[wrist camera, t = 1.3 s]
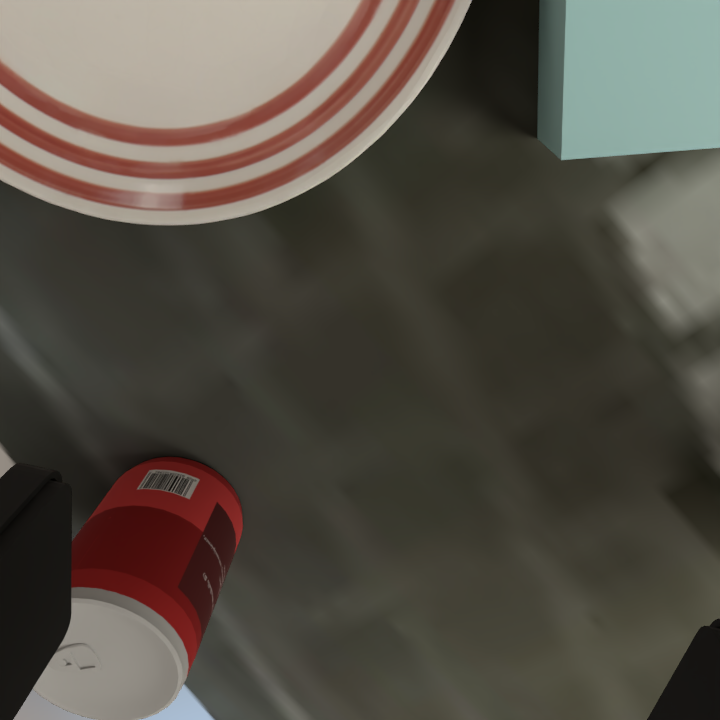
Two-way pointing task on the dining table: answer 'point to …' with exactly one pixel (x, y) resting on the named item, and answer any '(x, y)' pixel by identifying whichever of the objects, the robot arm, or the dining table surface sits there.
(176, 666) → the canned food
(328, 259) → the dining table surface
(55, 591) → the robot arm
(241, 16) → the dinner plate
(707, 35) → the teal cube
